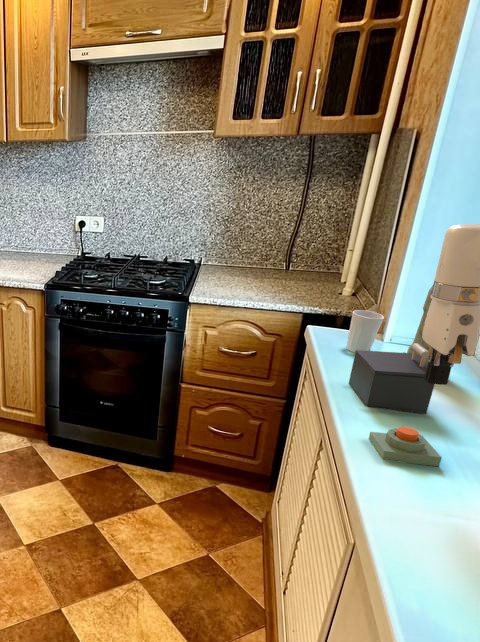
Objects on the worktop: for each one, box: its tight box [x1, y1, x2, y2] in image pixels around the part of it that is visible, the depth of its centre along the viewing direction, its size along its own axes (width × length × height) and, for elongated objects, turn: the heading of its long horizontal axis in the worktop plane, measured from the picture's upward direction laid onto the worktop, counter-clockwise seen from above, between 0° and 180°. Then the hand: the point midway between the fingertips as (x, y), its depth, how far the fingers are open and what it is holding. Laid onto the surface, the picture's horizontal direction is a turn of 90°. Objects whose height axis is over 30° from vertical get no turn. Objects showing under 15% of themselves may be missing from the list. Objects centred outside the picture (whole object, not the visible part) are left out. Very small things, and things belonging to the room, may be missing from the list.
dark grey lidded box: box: [348, 352, 436, 415], centre depth 132 cm, size 13×14×9 cm
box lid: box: [354, 343, 429, 377], centre depth 129 cm, size 13×14×5 cm
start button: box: [396, 426, 420, 442], centre depth 109 cm, size 4×4×2 cm
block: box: [368, 427, 443, 467], centre depth 110 cm, size 10×8×4 cm
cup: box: [345, 309, 385, 353], centre depth 161 cm, size 8×8×12 cm
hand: (435, 382), depth 103 cm, fingers closed
